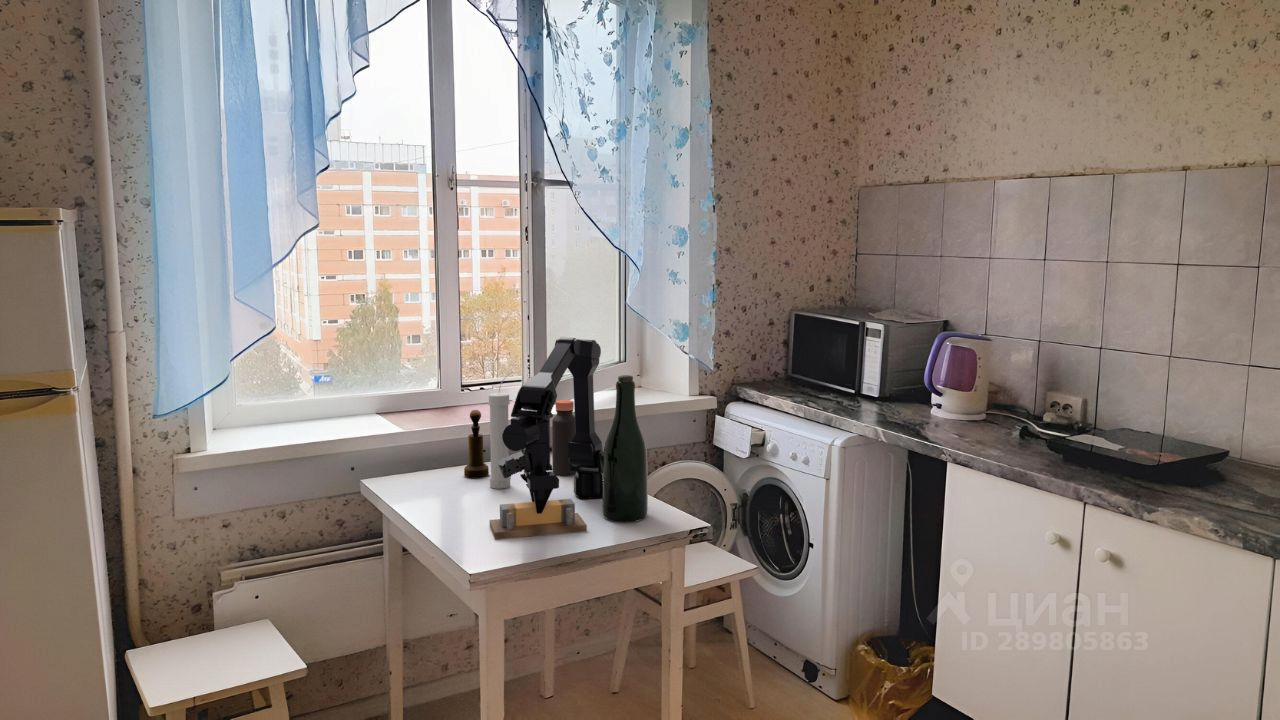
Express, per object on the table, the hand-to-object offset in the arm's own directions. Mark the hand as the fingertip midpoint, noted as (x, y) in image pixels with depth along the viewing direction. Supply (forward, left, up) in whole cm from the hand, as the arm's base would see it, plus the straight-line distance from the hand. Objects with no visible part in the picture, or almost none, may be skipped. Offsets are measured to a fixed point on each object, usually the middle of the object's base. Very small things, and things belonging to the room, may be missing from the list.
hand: (537, 510), depth 195 cm
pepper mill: (+8, -49, -4) cm, 50 cm away
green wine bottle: (-21, -3, -4) cm, 22 cm away
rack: (0, 0, -4) cm, 4 cm away
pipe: (+3, -36, -4) cm, 37 cm away
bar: (0, 0, -2) cm, 3 cm away
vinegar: (-16, -45, -4) cm, 48 cm away
